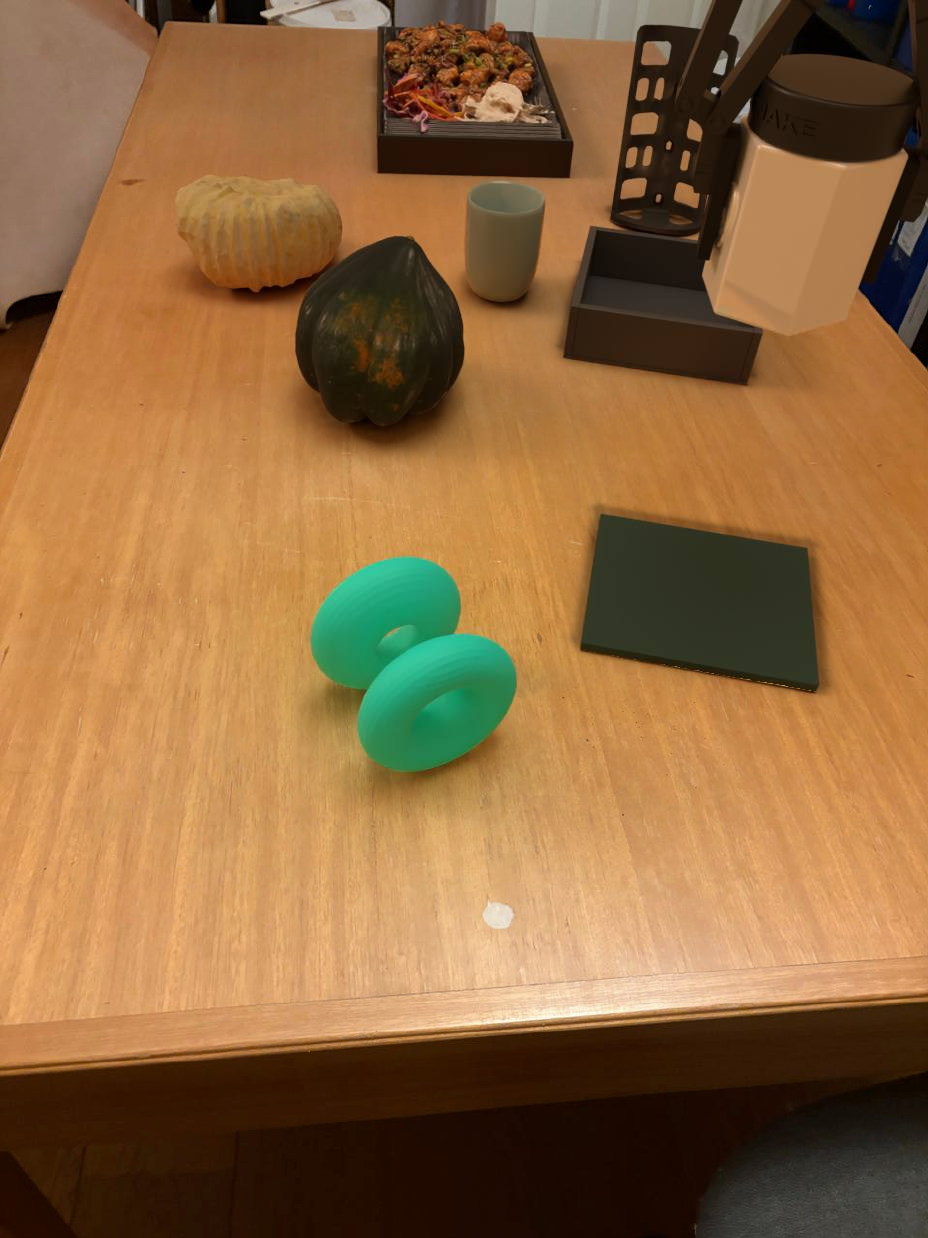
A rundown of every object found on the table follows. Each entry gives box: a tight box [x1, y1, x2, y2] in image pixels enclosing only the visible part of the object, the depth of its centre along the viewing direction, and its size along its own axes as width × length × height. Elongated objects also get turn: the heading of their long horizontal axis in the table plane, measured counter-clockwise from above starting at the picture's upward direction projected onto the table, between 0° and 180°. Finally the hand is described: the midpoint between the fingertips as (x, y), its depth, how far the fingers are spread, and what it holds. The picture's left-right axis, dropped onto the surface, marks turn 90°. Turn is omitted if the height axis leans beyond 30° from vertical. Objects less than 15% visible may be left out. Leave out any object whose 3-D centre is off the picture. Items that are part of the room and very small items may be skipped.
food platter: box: [376, 19, 575, 179], centre depth 130 cm, size 45×25×10 cm, turn 4°
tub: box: [562, 225, 764, 386], centre depth 93 cm, size 18×18×5 cm
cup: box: [463, 180, 546, 303], centre depth 94 cm, size 8×8×10 cm
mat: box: [579, 513, 820, 692], centre depth 68 cm, size 16×14×1 cm
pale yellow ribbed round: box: [174, 173, 343, 293], centre depth 96 cm, size 17×11×15 cm
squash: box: [294, 235, 466, 427], centre depth 79 cm, size 14×15×15 cm
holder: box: [609, 24, 740, 236], centre depth 105 cm, size 11×8×20 cm
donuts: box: [309, 556, 518, 773], centre depth 56 cm, size 10×10×10 cm
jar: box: [702, 53, 921, 337], centre depth 51 cm, size 9×8×12 cm
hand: (783, 260), depth 54 cm, fingers closed on jar, 8 cm apart
